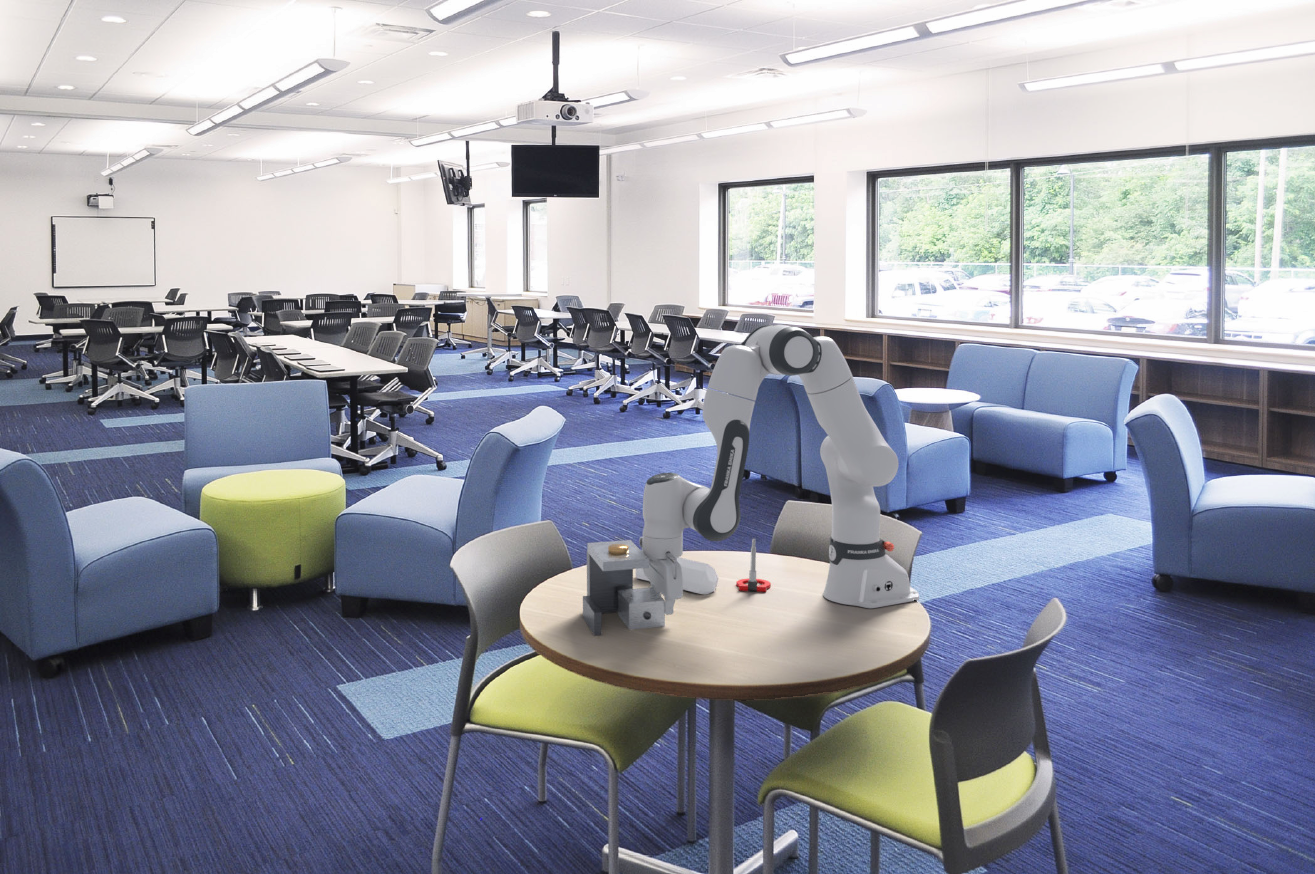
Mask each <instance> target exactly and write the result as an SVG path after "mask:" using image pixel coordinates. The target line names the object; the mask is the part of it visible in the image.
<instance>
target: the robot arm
mask: <svg viewBox="0 0 1315 874" xmlns="http://www.w3.org/2000/svg"><path fill="white" fill-rule="evenodd" d="M769 374H770V375H775V376H777V375H779V376H780V375H782V376H790V377H791V376H792V377H793V376H799V378H800V380H801V381H802V385H803V387H804V390H805V392H806V395H807V397H808V400H809V402H810V405H811V408H812V410H813V413H814V416H815V418H816V420H817V422H818V424H819V425H820V427H821V428H822V429H823V431H824V432H825V433H826V435H827V436H826V437H824V439H823V441H822V443H821V445H820V449H819V453H820V454H819V455H820V458H821V461H822V463H823V465H824V467H825V471H826V476H827V481H828V487H829V493H830V499H831V508H832V510H831V536H830V538H829V545H828V546H829V547H828V558H829V559H828V560H829V567H828V568H829V569H828V573H827V574H828V575H827V579H826V581H825V583H826V584H825V586H824V590H823V592H822V595H823V597H824V598H825V599H826V600H829V601H830V602H834V603H837V604H842V605H848V606H856V607H861V608H865V609H876V608H883V607H887V606H893V605H898V604H905V603H909V602H910V603H911V602H915V601H914V600H916V601H919V600H920V594H919V593H920V592H918V591H917V590H916V589H915V588H913V587H912V586H911V584H910V578H909V575H908V572H907V570H906V569H905V568H904V567H903V566H901V565H900V564H899V563H898V562H897V561H895V560H894V559H893V558H892V557H890V556H889V555H888V554H887V552H893V551H894V549H895V544H894V543H892V542H890V541H885V540H883V539H881V538H880V530H881V529H880V526H881V524H880V523H881V507H880V503H879V501H878V499H877V497H876V494H875V490H874V487H883V486H886V485H889V483H890V482H892V481H893V480H894V478H895V477H896V475H897V473H898V470H899V458H898V455H897V453H896V452H895V450H893V448H892V447H891V446H890V445H889V443H888V442H887V441H886V440H885V438H884V436H883V434H882V433H881V431H880V429H879V428H878V426H877V424H876V423H875V421H874V420H873V418H872V416H871V415H870V413H869V412H868V410H867V408H866V406H865V404H864V401H863V399H862V397H861V394H860V391H859V390H858V387H857V383H856V381H855V379H854V376H853V373H852V371H851V369H850V367H849V365H848V362H847V359H846V358H845V357H844V354H843V353H842V351H841V349H840V348H839V346H838V344H837V343H836V342H835V340H834V339H832V338H830V337H828V336H823V335H821V336H820V335H819V336H814V337H813V336H812V335H811V334H810V333H809V332H807V331H806V330H804V329H802V327H797V326H790V325H788V324H787V325H785V324H775V325H770V324H769V325H761V326H759V327H756V328H755V329H753V330H752V331H750V333H749V334H748V335H747V336H746V338H745V339H744V340H743V341H742V342H741V343H740V344H734V345H733V344H732V345H730V346H726V348H724V349H723V350H722V351H721V353H720V355H719V357H718V359H717V361H716V363H715V365H714V368H713V371H712V373H711V375H710V379H709V381H708V385H707V387H706V391H705V395H704V399H703V404H702V418H703V421H704V423H705V425H706V427H707V428H708V430H709V432H711V434H712V436H713V439H714V441H715V444H716V450H717V453H716V459H715V460H716V461H715V466H714V471H713V475H712V480H711V484H710V485H711V486H710V487H707V486H705V485H702V484H699V483H694V482H691V481H689V480H687V479H685V478H683V477H682V476H681V475H679V474H678V473H676V472H663V473H657V474H654V475H653V476H651V477H649V478H648V479H647V480H646V482H645V485H644V489H643V494H642V495H643V497H642V518H643V521H644V522H643V523H644V526H643V529H642V536H640V537H639V547H640V548H641V551H642V552H643V553H644V554H645V555H646V556H647V557H648V558H649V568H643V571H644V575H645V576H646V577H647V578H648V579H649V580H650V581H649V582H650V583H649V584H650V587H653V588H654V589H655V590H656V591H657V593H658V594H659V595H660V596H661V597H662V596H663V597H664V598H663V599H664V600H665V616H670V615H673V614H674V606H675V603H676V600H681V599H682V598H683V595H684V590H683V579H682V568H681V565H680V564H679V563H678V562H677V558H678V557H679V558H681V556H683V554H684V553H683V551H684V549H683V548H684V546H683V543H684V540H683V539H684V535H683V534H684V533H683V532H684V530H685V529H688V528H689V529H692V530H694V531H696V532H697V533H698V534H699V535H700V536H702V537H703V538H704V539H705V540H708V541H710V542H722V541H725V540H726V539H727V540H728V538H730V537H731V536H732V535H733V534H735V532H736V530H737V529H738V528H739V525H740V523H741V517H742V516H741V504H740V495H741V489H742V483H743V479H744V473H745V468H746V463H747V458H748V457H747V456H748V451H749V446H750V429H751V422H752V416H753V413H754V412H753V411H754V408H755V404H756V400H757V396H758V392H759V388H760V386H761V384H762V382H763V381H764V380H765V378H766V377H767V376H768V375H769ZM886 551H887V552H886ZM913 599H914V600H913Z"/></svg>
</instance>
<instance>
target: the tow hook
mask: <svg viewBox="0 0 1315 874" xmlns="http://www.w3.org/2000/svg"><path fill="white" fill-rule="evenodd" d="M756 559H757V548H756V538H752V539H751V547H750V570H749V573H748V575H749V576H748V577H749V578H742V579H738V580H737V581H736V585H735V586H736V587H738V591H741V592H748V593H749V592H750V593H752V592H753V593H757V592H758V593H759V592H760V593H766V592H767V590H768V589H770V588H771V587H772V585H771V582H770V581H768V580H766V579H761V578H757V570H756V564H757V562H756ZM758 584H760V585H758Z"/></svg>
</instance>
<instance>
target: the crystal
mask: <svg viewBox="0 0 1315 874" xmlns="http://www.w3.org/2000/svg"><path fill="white" fill-rule="evenodd" d="M677 562H678V563H679V564H680V565H681V568H682V579H683V591H688V592H691V593H695V594H700V595H709V594H711V593H713V592H715V591H716V589H717V587H718V582H719V577H718V574H717V571H716V568H714V567H713V566H711V565H710V564H709V563H705V562H700V561H696V560H692V559H687V558H682V557H678V558H677ZM634 573H635V579H640V580H643V581H647V582H650V580H649V579H648V578H647V577H646V576H645V575H644V571H643V568H639V569H635V572H634Z"/></svg>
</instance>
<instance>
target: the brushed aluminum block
mask: <svg viewBox="0 0 1315 874" xmlns="http://www.w3.org/2000/svg"><path fill="white" fill-rule="evenodd" d="M617 613H618V614H617V616H618V617H619V618H620V619H621V621H622V622H623V624H624V625H625V626H626V627H627V629H628V630H637V629H638V630H639V629H649V628H660V627H665V626H666V619H665V618H666V617H665V616H666V614H665V599H664V598H663V597H662V595H661V596H660V595H659V594H658V593H657V591H656V590H655V589H654V588H653V587H651V586H650V587H642V588H641V587H639V588H633V589H625V590H618V612H617Z"/></svg>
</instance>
